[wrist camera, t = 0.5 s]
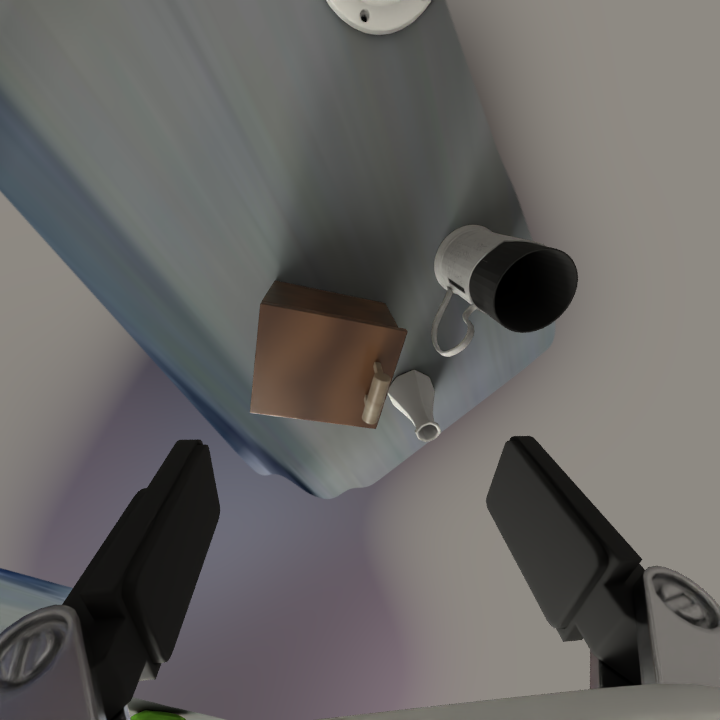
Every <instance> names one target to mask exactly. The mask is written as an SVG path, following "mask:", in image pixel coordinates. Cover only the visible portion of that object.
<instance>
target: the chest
mask: <svg viewBox="0 0 720 720" xmlns="http://www.w3.org/2000/svg"><path fill="white" fill-rule="evenodd" d="M262 301H264V302H269V303H274V304H279V305H284V306H289V307H295V308H300V309H305V310H310V311H315V312H320V313H326V314H331V315H336V316H341V317H346V318H351V319H357V320H362V321H367V322H372V323H377V324H382V325H388V326H393V327H398V326H397V324H396V322H395V320H394V319H393V317H392V315H391V313H390V311H389V309H388V307H387V306H386V304H385V303H382V302H377V301H373V300H368V299H363V298H358V297H353V296H348V295H344V294H339V293H334V292H329V291H324V290H319V289H315V288H310V287H305V286H300V285H295V284H290V283H286V282H281V281H276V280H275V281H274V283H273V284H272V286H271V288H270V289H269V291H268V292H267V294H266V295H265V297H264V299H263V300H262Z"/></svg>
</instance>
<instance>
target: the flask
mask: <svg viewBox="0 0 720 720" xmlns="http://www.w3.org/2000/svg"><path fill="white" fill-rule="evenodd" d="M434 394H435V390H434V388H433V385H432V383H431V380H430V378H429V377H428V376H426V375H424V374H422V373H420V372H418V371H416V370H412V371H410V372H407V373H405V374H403V375H400V376H398V377H396V379H395V380H394V381H393V383H392V384H391V386H390V387H389V390H388V395H389V397H390V399H391V401H392V403H393V405H394V406H395V407H396V408H398V409H399V410H400V411H401V412H402V413H404V414H405V415H406V416H407V417H408V418H409V419H410V420H411V421H412V422H413V424H414V425H415V426H416V430H415V432H416V434H417V437H418V439H419V440H422V441H424V442H429V441H432V440H434V439H436V438H437V437H438V435H439V434H440V433H441V430H440V428H439V425H438V424H437V423H435V422H434V418H433V402H434Z"/></svg>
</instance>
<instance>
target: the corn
mask: <svg viewBox="0 0 720 720" xmlns="http://www.w3.org/2000/svg"><path fill="white" fill-rule="evenodd" d="M131 720H186V719H185V718H183V717H181V716H179V715H176V714H172V713H167V712H159V711H147V710H145V711H142V712H140V713H137V714H135V715H133V716H132V717H131Z"/></svg>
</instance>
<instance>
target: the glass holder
mask: <svg viewBox="0 0 720 720" xmlns="http://www.w3.org/2000/svg"><path fill="white" fill-rule="evenodd" d="M434 269H435V275H436V278H437V280H438V282H439V283H440V285H441V286H442V287H443V288H444V289H445V290H447V293H446V296H445V298H444V300H443V302H442V304H441V306H440V308H439V310H438V312H437V314H436V317H435V319H434V321H433V324H432V331H431V338H432V343H433V345H434V347H435V349H436V350H437V351H438V352H439V353H440V354H441V355H442V356H447V357H449V356H453V355H455V354H457V353H459V352H460V351H462V350H463V349H464V348H466V347H467V345H468V344H469V343H470V342H471V340H472V338H473V335H474V327H473V325H472V323H471V322H470V321H469V320H468V317H469V316H470V314H471V313H472V312H473V311H474V310H475V309H478V310H479V311H481V312H483V313H485V314H488V315H489V316H490V317H492V318H493V319H494V320H496V321H497V322H498V323H500V324H501V325H502V326H504V327H505V328H507V329H509V330H511V331H514V332H520V333H526V332H533V331H537V330H539V329H542V328H544V327H546V326H548V325H550V324H551V323H552V322H554V321H555V320H556V319H557V318H559V317H560V316H561V315H562V313H563V312H564V311H565V310H566V309H567V308H568V306H569V304H570V303H571V301H572V299H573V297H574V295H575V292H576V288H577V282H578V275H577V269H576V266H575V264H574V262H573V260H572V259H571V258H570V257H569V256H568V255H567V254H566V253H564V252H563V251H560V250H558V249H554V248H550V247H546V246H545V245H543V244H540V243H538V242H534V241H529V240H525V239H520V238H516V237H511V236H506V235H502V234H497V233H493V232H492V231H490V230H489V229H487V228H486V227H483V226H480V225H467V226H463V227H460V228H458V229H456V230H455V231H453V232H452V233H450V234H449V235H448V236H447V237H446V238H445V239H444V241H443V242H442V243H441V245H440V247H439V248H438V251H437V253H436V257H435V263H434ZM452 293H454V294H458V295H459V296H461V297H462V298H463V299H465V300H466V301H467V302H469V303H470V304H471V305H470V306H469V307H468V308H467V309H466V310H465V312H464V313H463V320H464V321H465V322H466V323H467V325H468V331H467V334H466V336H465V338H464V339H463V340H462V342H461V343H460V344H458V345H457V346H456V347H454V348H452V349H451V350H448V351H441V350H440V348H439V346H438V343H437V330H438V325H439V322H440V320H441V317H442V315H443V313H444V311H445V309H446V307H447V305H448V303H449V300H450V298H451V296H452Z"/></svg>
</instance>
